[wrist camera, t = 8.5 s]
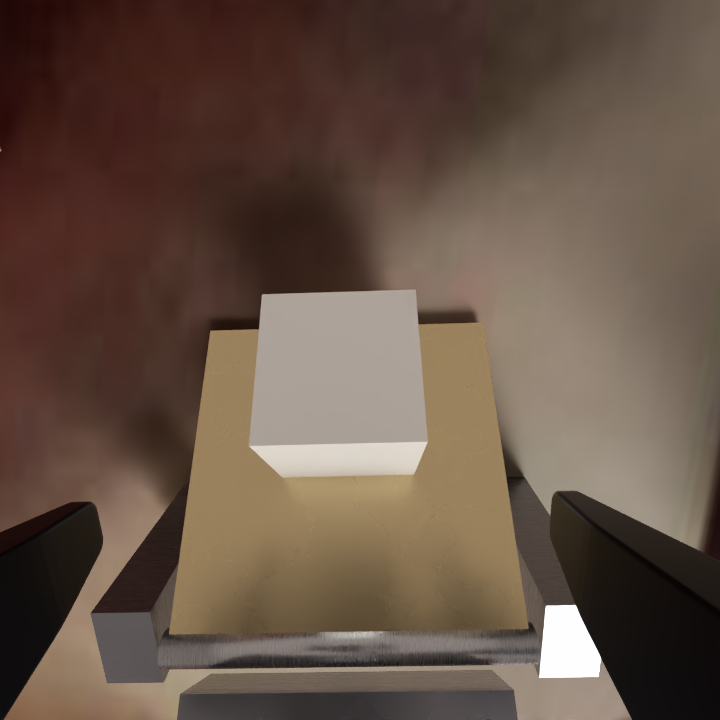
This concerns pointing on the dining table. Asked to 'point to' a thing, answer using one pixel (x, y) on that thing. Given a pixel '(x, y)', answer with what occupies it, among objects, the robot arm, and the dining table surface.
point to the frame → (159, 573)
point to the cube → (339, 384)
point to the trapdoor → (350, 561)
